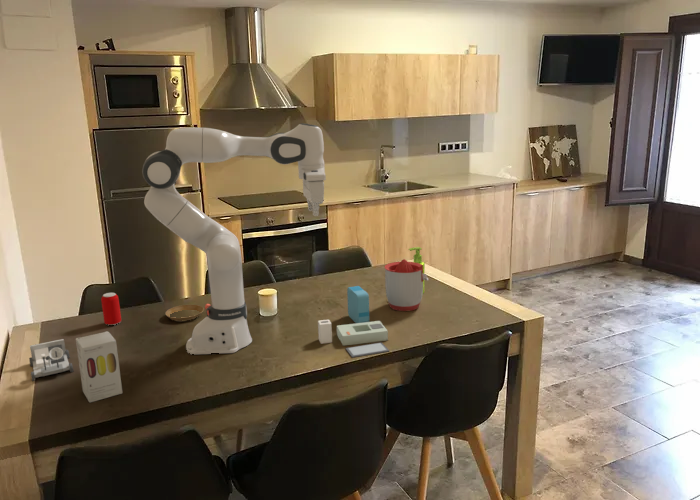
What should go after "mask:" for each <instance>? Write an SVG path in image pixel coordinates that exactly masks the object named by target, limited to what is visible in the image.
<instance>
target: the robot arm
mask: <svg viewBox="0 0 700 500" xmlns="http://www.w3.org/2000/svg"><path fill="white" fill-rule="evenodd" d="M324 152H325V144H324V135H323V131H322V129H321V128H320V126H318V125H315V124H310V123H299V124H298V125H296V126H295V127H294V128H293V129H291V130H289V131H287V132H277V133H274V134H272V135H270V136H269V135H268V136H262V137H261V136H245V135H244V136H242V135H238V134H233V133H231V132H228V131H224V130H221V129H216V128H213V127H212V128H211V127H199V126H198V127H197V126H196V127H181V128H175V129H172V130H171V131H170V132H169V133H168V135H167V138H166V144H165V149H163V150H157V151H155V152H153V153H151V154H150V155H148V156H147V158H146V159H145V161H144V162H143V165H142V169H141V173H142V177H143V179H144V181H145V182H146V183H147V185H148V186H150V188H149V190H148V191H147V192H146V194H145V196H144V201H143V203H144V207H145V208H146V210H147V211H148V212H149V213H150V214H152V216H153V217H154V218H155V219H156V220H157V221H159V222H160V223H161V224H162V225H163V226H164V227H166V228H167V229H169V230H170V232H172V233H174V234H175V235H176V236H178V237H179V238H180V239H182V240H183V241H184V242H185V243H187V244H191V245H192V246H193V247H196V248H197V249H199V250H200V251H202V252H203V253H205V254H206V263H207V268H208V269H207V271H208V279H209V287H210V288H209V290H210V298H211V304H210V303H206V304H205V305H204V310H205V311H206V312H205V313H206V316H205V317H204V318H203V319H202V320H201V321H199V322H198V323H197V324H196V325H194V328H193V329H192V333H191V337H190V338H189V339H188V340H187V341H186V344H185V350H187V351H186V352H187V354H189V353H190V354H189V355H192V354H194V355H211V353H219V354H234V353H236V352H237V351H239V350H242V349H243V348H245V347H247V346H249V345H250V344H251V343H252V342H253V338H252V336H251V333H250V329H249V326H248V320H247V317H248V310H247V303H246V302H245V292H244V291H245V289H244V278H243V277H244V276H243V275H244V274H243V262H242V261H243V260H242V251H241V245H240V241H239V239H238V237H237V236H236V235H235V234H234V232H232V231H230V230H229V229H227V228H226V227H225V226H224V225H222V224H220V223H219V222H217V221H216V220H214V219H213V218H211V217H210V216H209V215H207V214H206V213H204V212H203V211H202V210H200V209H199V208H198V207H197V206H195V205H194V204H193V203H191V201H190V200H188V199H187V198H185V197H184V196H183V195H182V194H180V193H179V191H178V190H177V188H176V184H177V183H176V182H177V181H178V180H179V178H180V176H181V169H182V166H183V165H185V164H187V163H203V164H207V163H208V164H209V163H210V164H211V163H212V164H213V163H222V162H225V161H227V160H230V159H232V158H234V157H240V156H252V157H253V156H255V157H257V156H258V157H267V158H269V159H272V160H273V161H275V162H276V163H278V164H280V165H290V164H292V163H297V166H298V167H297V168H298V178H299V179H300V180H302V193H303V197H305V198H306V202H307V211H309V212H312V215H313V217H318V216H320V212H319V211H320V205H321V204H323V203H324V200H325V199H324V198H325V181H326V180H327V179H326V176H327V175H326V170H325V169H326V167H325V160H324Z"/></svg>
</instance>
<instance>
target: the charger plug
mask: <svg viewBox="0 0 700 500" xmlns="http://www.w3.org/2000/svg"><path fill="white" fill-rule="evenodd" d="M317 327H318V328H317V331H318V332H317V334H318V341H319V343H320V344H329V343H333V332H332V331H333V329H332V322H331V320H330V319H323V320H322V319H321V320H317Z"/></svg>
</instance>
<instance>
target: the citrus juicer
mask: <svg viewBox="0 0 700 500" xmlns="http://www.w3.org/2000/svg"><path fill="white" fill-rule="evenodd" d="M384 269H385V271H384V272H385V273H384V275H385V276H384V277H385V279H384V280H385V294H386V300H387V304H388V306H389V307H390V308H391V309H393V310H394V311H401V312H408V311H409V312H410V311H414V310H417V309H418V308H419V307H420V305H421V301H422V298H423V294H424V293H423V280H424V281H429V277H428V275H427V274H426V273H425V272H424V273H423V265H422V264H419V263H415V262H414V261H408V260H406V259H405V258H403V259H402V260H401V261H394V262H390V263H387V264H385V265H384Z"/></svg>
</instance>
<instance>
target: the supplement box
mask: <svg viewBox="0 0 700 500" xmlns="http://www.w3.org/2000/svg"><path fill="white" fill-rule="evenodd" d="M75 344H76V350H77V351H76V352H77V359H78V365H79V366H78V367H79V373H80V379H81V388H82V392H83V394H84V396H85V397H86V399H87V401H88V402H89V403H90V404H91V403H93V402H98V401H100V400H103V399H107V398H111V397H114V396H117V395H118V396H119V395H122V394H123V385H122V380H121V371H120V362H119V355H118V346H117V340H116V338H115V337H114V336H113V335H112V334H111V333H110V332H109V331H104V332H99V333H94V334H89V335H86V336H82V337H81V336H80V337H76V338H75Z"/></svg>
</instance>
